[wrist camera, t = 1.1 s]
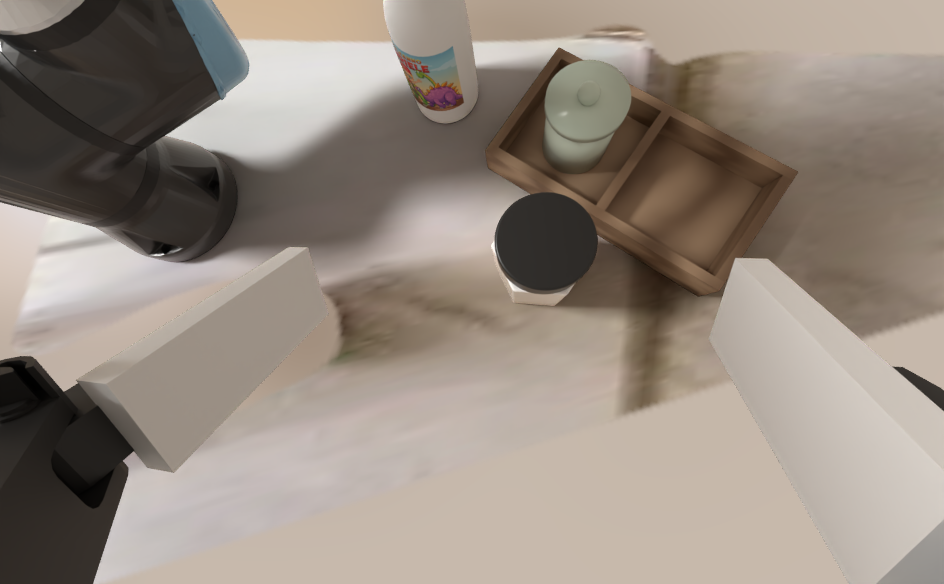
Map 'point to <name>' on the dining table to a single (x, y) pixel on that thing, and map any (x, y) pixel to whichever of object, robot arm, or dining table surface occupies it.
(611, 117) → the sugar pot
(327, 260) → the dining table surface
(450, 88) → the milk bottle
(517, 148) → the caddy
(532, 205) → the jar
